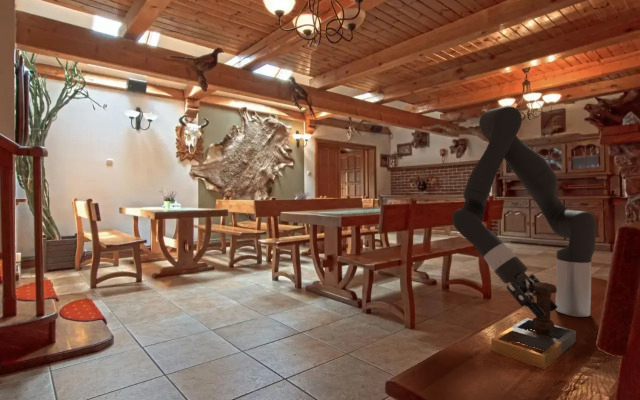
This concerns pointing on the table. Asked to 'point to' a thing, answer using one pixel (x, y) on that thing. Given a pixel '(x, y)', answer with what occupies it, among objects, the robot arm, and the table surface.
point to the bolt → (543, 307)
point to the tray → (533, 343)
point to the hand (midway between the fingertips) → (548, 313)
